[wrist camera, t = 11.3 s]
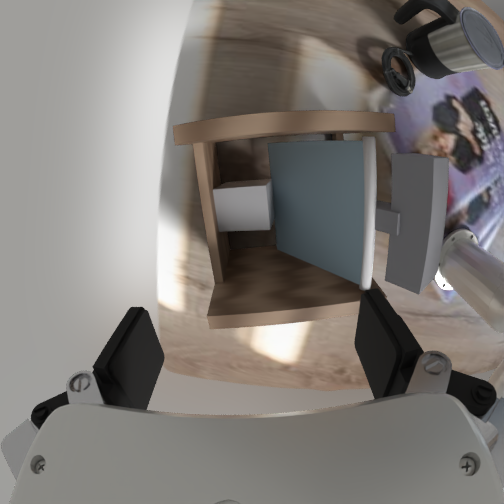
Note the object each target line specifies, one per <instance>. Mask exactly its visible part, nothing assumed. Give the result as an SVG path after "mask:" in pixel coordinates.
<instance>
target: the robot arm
mask: <svg viewBox="0 0 504 504" xmlns="http://www.w3.org/2000/svg"><path fill="white" fill-rule="evenodd" d="M434 281H435V282H436V284H437V285H438V286H439V287H440V288H442V289H444V290H452V289H454V290H455V291H456V292H457V293H458V294H459V295H460V296H461V297H462V298H463V299H464V300H465V301H466V302H467V303H468V304H469V305H470V306H471V307H472V308H473V309H474V310H475V311H476V312H477V313H478V314H479V315H480V316H481V317H482V318H483V319H484V320H485V322H486V323H487V324H488V325H489V326H490V327H491V328H492V329H493V330H495V331H496V332H499V333H504V263H503V262H502V261H501V260H499V259H498V258H496V257H495V256H493V255H492V254H491V253H490V252H489V251H486V250H485V249H483V248H481V247H480V246H478V241H477V238H476V236H475V235H474V234H473V233H472V232H471V231H469V230H467V229H463V228H462V229H457V230H455V231H453V232H451V233H450V234H449V235H448V236H447V237H446V238H445V239H444V240H443V242H442V249H441V255H440V261H439V266H438V271H437V275H436V276H435V277H434ZM355 348H356V351H357V353H358V356H359V358H360V361H361V364H362V366H363V369H364V371H365V374H366V377H367V379H368V382H369V385H370V387H371V390H372V393H373V396H374V398H375V399H374V400H369V401H364V402H359V403H354V404H348V405H342V406H336V407H329V408H323V409H315V410H307V411H299V412H288V413H275V414H257V415H199V414H182V413H181V414H180V413H169V412H159V411H150V410H147V407H148V404H149V401H150V398H151V395H152V392H153V390H154V387H155V384H156V381H157V378H158V376H159V373H160V370H161V368H162V365H163V362H164V353H163V350H162V348H161V345H160V343H159V340H158V337H157V335H156V332H155V329H154V327H153V324H152V321H151V319H150V316H149V313H148V311H147V310H145V309H144V308H143V307H131V308H130V309H129V310H128V312H127V313H126V315H125V316H124V318H123V319H122V321H121V322H120V324H119V325H118V327H117V328H116V330H115V332H114V333H113V335H112V336H111V338H110V339H109V341H108V342H107V344H106V346H105V347H104V349H103V350H102V352H101V354H100V355H99V357H98V359H97V361H96V362H95V364H94V365H93V368H94V371H93V372H92V373H91V372H90V371H79V372H77V373H75V374H73V375H72V376H71V377H70V378H69V380H68V381H67V384H66V389H67V391H66V392H64V393H62V394H59V395H57V396H55V397H53V398H51V399H49V400H47V401H45V402H42V403H40V404H38V405H37V406H36V407H35V408H34V409H33V411H32V414H31V421H30V420H29V419H27V420H26V421H24V422H23V423H22V424H21V425H20V426H18V427H17V428H16V429H14V430H13V431H12V432H11V433H9V434H8V435H7V436H6V437H5V438H4V439H3V441H2V443H1V449H2V452H3V454H4V457H5V459H6V461H7V463H8V465H9V467H10V469H11V471H12V473H13V475H14V477H15V479H16V483H15V486H14V490H13V493H12V496H11V500H10V503H9V504H504V492H503V487H504V358H503V360H502V361H501V363H500V364H499V365H498V367H497V368H496V370H495V371H494V372H493V374H492V375H491V377H490V379H489V381H488V382H487V381H485V380H481V379H478V378H475V377H472V376H469V375H466V374H463V373H460V372H457V371H454V370H451V369H452V364H451V361H450V359H449V358H448V357H447V356H446V355H445V354H443V353H441V352H439V351H427V352H425V353H424V351H423V350H422V348H421V347H420V345H419V344H418V342H417V340H416V339H415V337H414V336H413V334H412V333H411V331H410V330H409V328H408V327H407V325H406V324H405V322H404V321H403V319H402V318H401V317H400V316H399V315H397V314H396V312H395V311H394V309H393V308H392V306H391V305H390V303H389V302H388V301H387V299H386V298H385V296H384V295H383V294H382V292H381V291H380V289H379V288H375V289H368V290H365V293H363V294H361V299H360V307H359V315H358V322H357V329H356V336H355Z"/></svg>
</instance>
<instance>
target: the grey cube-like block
mask: <svg viewBox="0 0 504 504" xmlns="http://www.w3.org/2000/svg"><path fill="white" fill-rule="evenodd" d="M213 195H214V202H215V209H216V215H217V222H218V229H219V232H224V231H250V230H270V229H271V226H272V224H273V222H274V219H275V207H274V196H273V184H272V179H260V180H247V181H235V182H225V183H224V184H222V185H220V186H218V187H217V188H215V189H213Z"/></svg>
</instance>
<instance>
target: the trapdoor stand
mask: <svg viewBox="0 0 504 504" xmlns="http://www.w3.org/2000/svg"><path fill="white" fill-rule="evenodd" d="M366 132H396V131H395V118H394V114H390V113H378V112H364V111H336V110H313V111H284V112H269V113H257V114H247V115H238V116H229V117H222V118H215V119H208V120H202V121H196V122H191V123H185V124H180V125H175V126H173V133H174V140H175V145H188V144H193V149H194V157H195V164H196V171H197V178H198V185H199V192H200V198H201V205H202V211H203V218H204V224H205V230H206V236H207V242H208V247H209V253H210V259H211V264H212V270H213V275H214V280H215V286H214V290H213V294H212V298H211V302H210V306H209V310H208V314H207V319H208V323H209V327H210V329H223V328H239V327H253V326H265V325H276V324H286V323H296V322H304V321H313V320H321V319H328V318H336V317H343V316H349V315H356V314H359V307H360V299H361V294H363V293H365V291H363V290H361V289H360V288H359V286H360V285H359V284H356V283H354V282H352V281H349V280H347V279H345V278H343V277H340V276H338V275H336V274H333V273H331V272H329V271H326V270H324V269H322V268H319V267H317V266H315V265H313V264H310V263H308V262H306V261H303V260H301V259H299V258H296V257H294V256H292V255H289V254H287V253H284V252H282V251H280V250H277V245H275V246H264V247H254V248H243V249H233V250H230V245H229V238H228V231H224V232H219V229H218V222H217V215H216V209H215V202H214V195H213V189H215V188H217V187H218V186H220V185H221V180H220V172H219V164H218V156H217V148H216V142H224V141H232V140H240V139H249V138H260V137H271V136H286V135H305V134H332V141H344V139H343V134H344V133H366ZM375 288H379V289H380V291H381V292H382V294H383V295H384V296H385V298H386V299H387V296H386V295H385V294H384V292H383V291H382V290H381V288H380V287H379V286H378V284H377V283H376V282H375V280H374V279H373V278H372V280H371V288H370V289H375Z"/></svg>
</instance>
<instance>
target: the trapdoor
mask: <svg viewBox="0 0 504 504" xmlns="http://www.w3.org/2000/svg"><path fill="white" fill-rule="evenodd" d="M268 152H269V162H270V172H271V179H272V184H273V196H274V207H275V230H276V243H277V250H280V251H282V252H284V253H287V254H289V255H292V256H294V257H296V258H299V259H301V260H303V261H306V262H308V263H310V264H313V265H315V266H317V267H319V268H322V269H324V270H326V271H329V272H331V273H333V274H336V275H338V276H340V277H343V278H345V279H347V280H349V281H352V282H354V283H356V284H359V285H360V286H359V288H360V289H361V290H363V291H365V290H368V289H370V288H371V280H372V271H373V260H374V247H375V232H376V230H378V231H382V232H385V233H389V234H390V237H389V249H388V259H387V268H386V276H385V281H388V282H390V283H392V284H395V285H397V286H400V287H402V288H405V289H407V290H409V291H412V292H414V293H417V294H420V293H421V292H422V291H423V290H424V289H425V287H426V286H427V285H428V284H429V283H430V282H431V281H432V280H433V278H434V277H435V276H436V275H437V271H438V266H439V261H440V255H441V249H442V242H443V235H444V228H445V219H446V209H447V195H448V172H449V158H446V157H440V156H432V155H425V154H416V153H396V154H391V157H392V200H391V203H388V202H383V201H378V200H377V169H376V143H375V137H364V136H362V141H297V142H279V143H268Z"/></svg>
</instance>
